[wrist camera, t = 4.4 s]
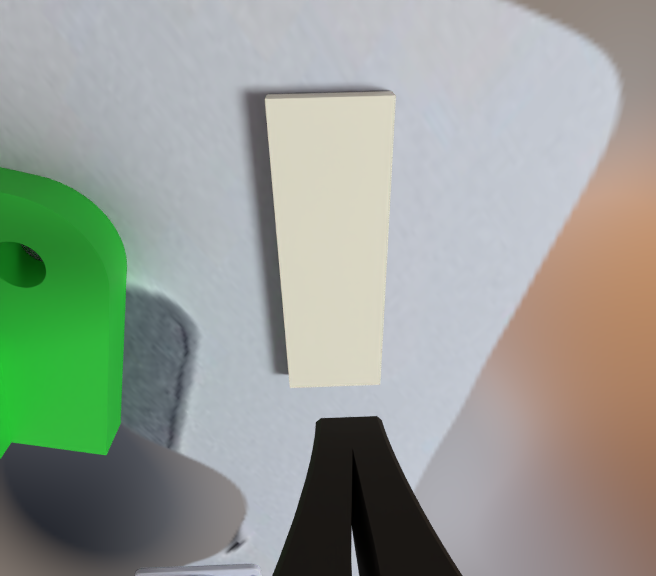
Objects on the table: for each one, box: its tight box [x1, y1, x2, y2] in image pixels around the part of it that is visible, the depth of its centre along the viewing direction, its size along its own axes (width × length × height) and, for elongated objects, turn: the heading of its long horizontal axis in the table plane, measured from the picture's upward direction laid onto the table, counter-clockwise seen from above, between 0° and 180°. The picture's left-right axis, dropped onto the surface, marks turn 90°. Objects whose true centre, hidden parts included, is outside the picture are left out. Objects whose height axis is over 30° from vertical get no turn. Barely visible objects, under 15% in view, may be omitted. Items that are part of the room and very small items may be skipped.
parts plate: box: [265, 91, 396, 388], centre depth 18 cm, size 12×4×1 cm, turn 1°
